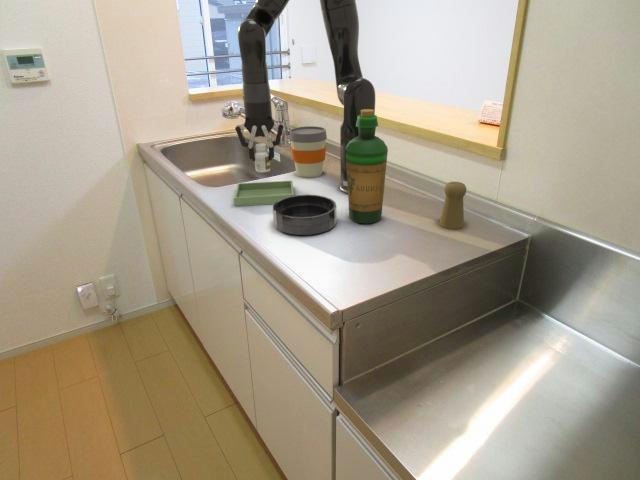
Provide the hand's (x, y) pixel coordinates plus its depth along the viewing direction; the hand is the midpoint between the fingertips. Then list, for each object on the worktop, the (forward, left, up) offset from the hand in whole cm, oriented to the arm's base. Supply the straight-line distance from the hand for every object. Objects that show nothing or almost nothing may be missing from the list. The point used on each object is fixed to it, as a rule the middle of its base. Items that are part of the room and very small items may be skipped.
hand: (262, 159), depth 132 cm
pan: (-11, +22, -12) cm, 27 cm away
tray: (0, 0, -12) cm, 12 cm away
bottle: (-27, +21, -12) cm, 36 cm away
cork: (-48, +28, -12) cm, 57 cm away
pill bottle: (0, 0, -4) cm, 4 cm away
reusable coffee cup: (-15, -21, -12) cm, 28 cm away
